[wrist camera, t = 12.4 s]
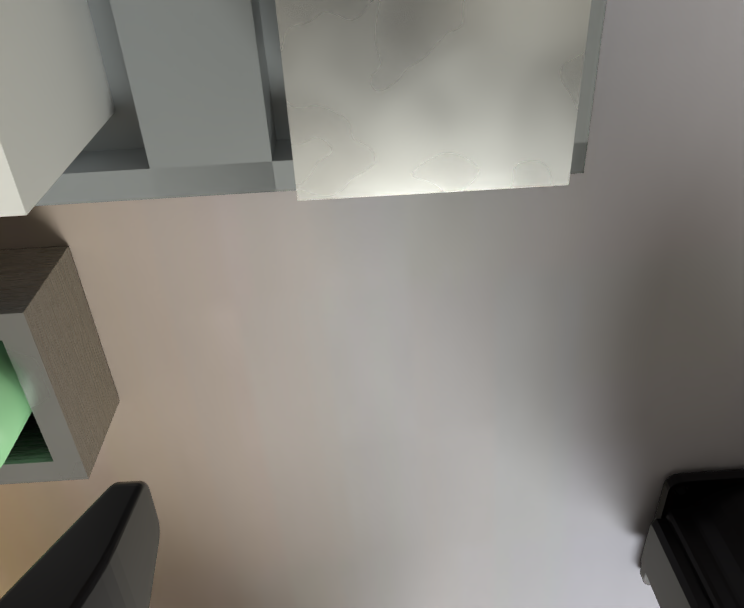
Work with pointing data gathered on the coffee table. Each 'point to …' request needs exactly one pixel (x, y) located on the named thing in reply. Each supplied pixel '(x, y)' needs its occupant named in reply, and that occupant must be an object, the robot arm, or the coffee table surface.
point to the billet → (431, 94)
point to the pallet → (158, 100)
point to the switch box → (53, 367)
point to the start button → (10, 405)
